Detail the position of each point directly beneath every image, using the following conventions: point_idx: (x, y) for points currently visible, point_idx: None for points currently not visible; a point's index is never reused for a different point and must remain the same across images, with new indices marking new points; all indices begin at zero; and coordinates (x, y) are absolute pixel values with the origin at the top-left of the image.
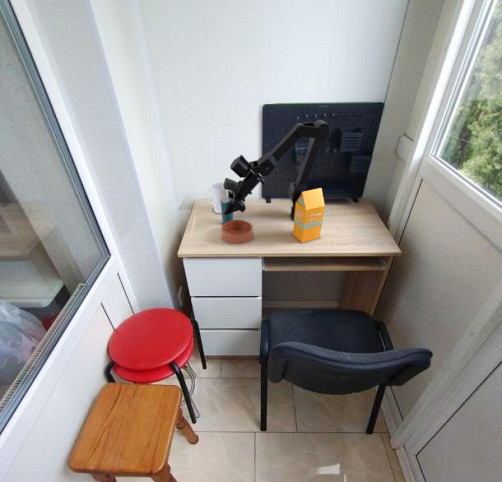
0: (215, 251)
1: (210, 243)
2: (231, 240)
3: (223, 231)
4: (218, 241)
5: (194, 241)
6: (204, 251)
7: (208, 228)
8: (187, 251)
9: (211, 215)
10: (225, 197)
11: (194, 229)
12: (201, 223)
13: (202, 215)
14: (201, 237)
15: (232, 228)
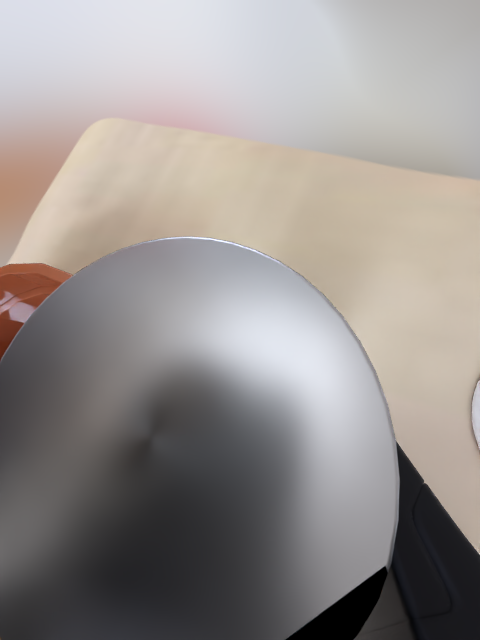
0: (23, 235)
1: (92, 224)
2: None
3: (4, 270)
4: (87, 265)
5: (149, 157)
6: (51, 191)
7: (248, 240)
8: (90, 128)
9: (455, 298)
10: (355, 486)
11: (271, 163)
12: (335, 208)
13: (476, 230)
14: (167, 190)
15: None
